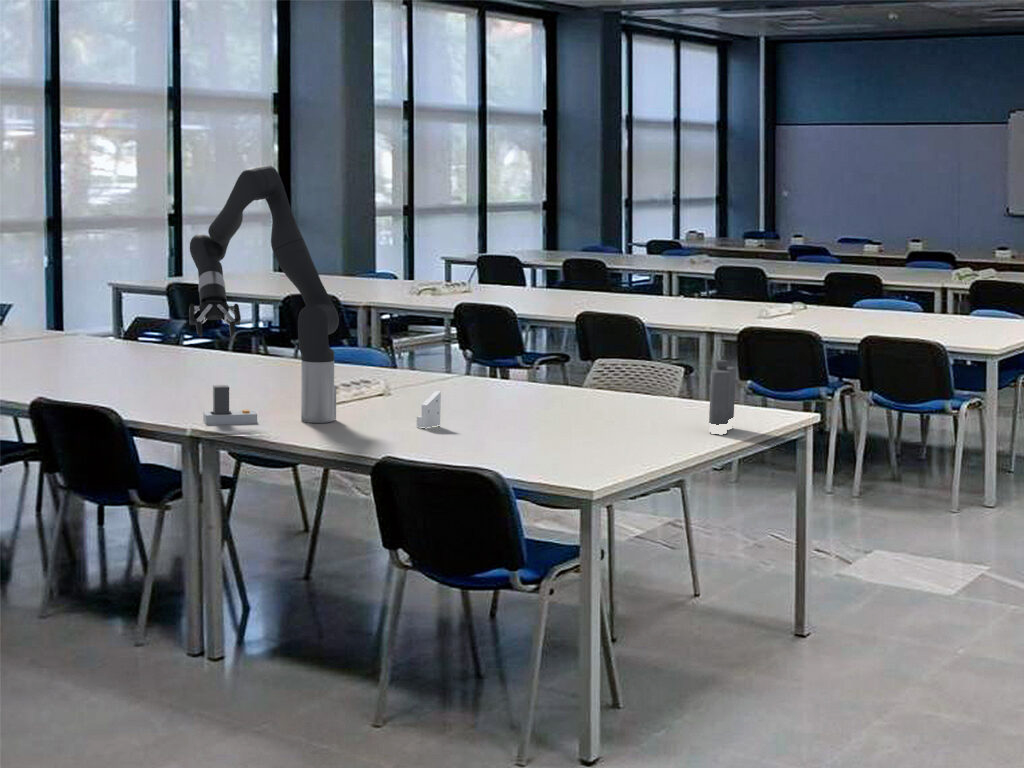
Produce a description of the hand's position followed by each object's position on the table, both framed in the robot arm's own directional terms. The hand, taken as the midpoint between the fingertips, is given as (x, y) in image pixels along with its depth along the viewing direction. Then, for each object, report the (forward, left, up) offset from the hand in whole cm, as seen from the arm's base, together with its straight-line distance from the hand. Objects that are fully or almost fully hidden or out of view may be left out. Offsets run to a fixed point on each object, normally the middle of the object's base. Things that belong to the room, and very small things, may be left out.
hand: (216, 334), depth 428 cm
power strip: (+5, +10, -24) cm, 26 cm away
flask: (-75, +121, -24) cm, 145 cm away
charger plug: (+7, +8, -23) cm, 25 cm away
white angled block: (-26, +55, -24) cm, 66 cm away
